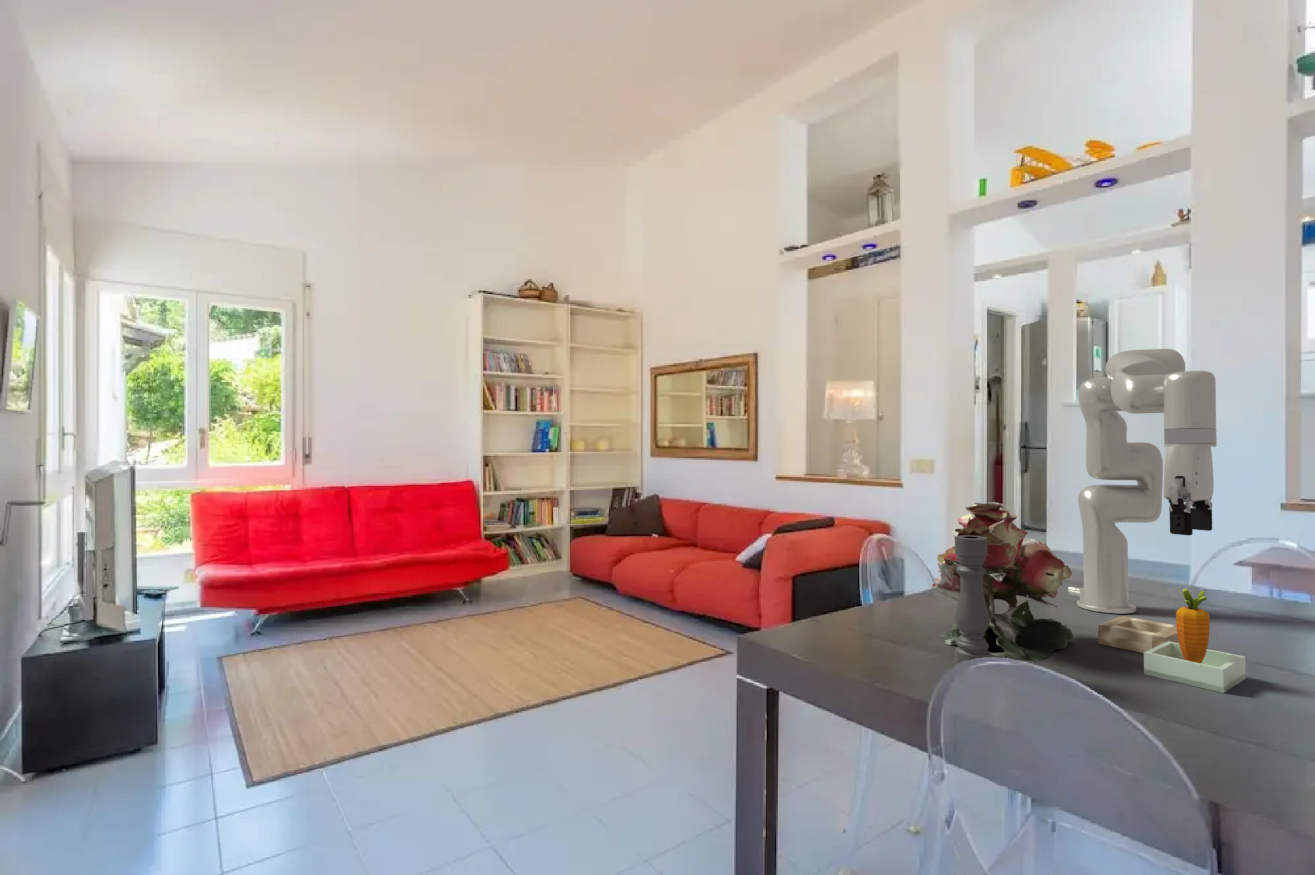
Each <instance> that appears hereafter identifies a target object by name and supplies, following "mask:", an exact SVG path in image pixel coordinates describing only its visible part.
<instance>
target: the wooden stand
mask: <svg viewBox="0 0 1315 875" xmlns="http://www.w3.org/2000/svg"><path fill="white" fill-rule="evenodd" d="M1097 631H1098V636H1097V638H1098V639H1097V640H1098V644H1100V645H1103V646H1104V645H1105V646H1108V647H1109V646H1110V647H1114V648H1118V649H1123V650H1128V651H1132V652H1136V653H1140V654H1144V652H1146V651H1148V650H1150V649H1152V648H1155V647H1157V646H1159V645H1161V644H1163V643H1166V642H1168V641H1169V642H1174V643H1179V641H1178V637H1177V627H1176V624H1170V623H1166V622H1165V623H1163V622H1159V621H1155V620H1154V621H1153V620H1147V619H1142V618H1136V617H1131V616H1125V615H1121V616H1118V617H1115V618H1112V619H1110V620H1107V621H1104V622H1101V623H1099V624H1097Z"/></svg>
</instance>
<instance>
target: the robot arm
mask: <svg viewBox="0 0 1315 875" xmlns="http://www.w3.org/2000/svg"><path fill="white" fill-rule="evenodd" d="M1185 362H1186V361H1185V359H1184V357H1183V356H1182V354H1181V353H1180V352H1179V351H1177V350H1175V349H1173V348H1155V349H1154V348H1149V349H1132V350H1130V349H1129V350H1124V351H1119V352H1117V353H1115V354H1113V355H1112V356H1111V357H1110V358H1109V359H1108V360H1107V361H1106V364H1105V368H1104V371H1105V375H1106V376H1099V377H1093V378H1089V379H1086V380H1085V381H1083V382H1081V384H1080V386H1079V389H1078V402H1079V407H1080V411H1081V413H1082V415H1083V418H1084V422H1085V428H1086V435H1085V436H1086V437H1085V438H1086V440H1085V441H1086V442H1085V467H1086V472H1087V473H1088V476H1090V478H1093V479H1096V480H1101V481H1102V480H1104V481H1136V482H1137V484H1092V485H1089V486H1086V487H1083V488H1082V489H1081V490H1080V491H1079V493H1078V496H1077V497H1078V498H1077V501H1078V509H1079V512H1080V519H1081V524H1082V546H1083V547H1082V550H1083V552H1082V553H1083V554H1082V555H1083V558H1082V559H1083V586H1082V587H1077V586H1076V587H1075V586H1068V588H1067V594H1068V595H1070V596H1077V597H1078V598H1079V599H1077V600H1076V604H1077V606H1078V607H1079V608H1082V609H1084V610H1088V611H1091V612H1092V611H1093V612H1097V613H1098V612H1099V613H1105V614H1116V615H1118V614H1119V615H1120V614H1125V615H1126V614H1133V613H1136V612H1137V606H1136V605H1135V604H1134V603H1132V602H1131V603H1130V602H1129V601H1130V600H1129V552H1128V551H1129V547H1128V546H1129V545H1128V544H1129V543H1128V540H1127V537H1126V535H1125V533H1124V532H1122V531H1121V530H1120V529H1119V527H1118V526H1117V525H1116V524H1117V523H1119V524H1121V523H1129V524H1131V523H1132V524H1133V523H1135V524H1136V523H1137V524H1140V523H1141V524H1142V523H1143V524H1144V523H1145V524H1148V523H1154V522H1156V521H1157V520H1159V518H1160V516H1161V514H1162V505H1163V498H1165V500H1167V501H1168V503H1169V507H1168V510H1169V533H1170V534H1171V535H1180V536H1192V535H1193V530H1197V531H1207V532H1210V531H1212V530H1213V503H1212V498H1213V495H1214V466H1213V455H1212V453H1213V452H1212V447H1217V446H1218V445H1217V443H1218V441H1217V397H1216V396H1217V395H1216V391H1217V390H1216V388H1217V387H1216V386H1217V385H1216V384H1217V383H1216V376H1215V374H1214V373H1212V372H1210V371H1206V370H1187V371H1186V363H1185ZM1120 412H1126V413H1129V414H1136V415H1137V414H1163V439H1164V440H1163V444H1164V447H1165V448H1166V451H1165V452H1166V453H1165V459H1164V461H1163V456H1162V453H1161V451H1160V449H1159V448H1158V447H1157V446H1156V445H1155V444H1153V443H1150V442H1140V441H1139V442H1128V440H1127V436H1128V433H1127V432H1128V424H1127V422H1126V421H1125V418H1124V417H1123V416H1122V415H1121V414H1120ZM1163 462H1164V463H1163Z"/></svg>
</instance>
